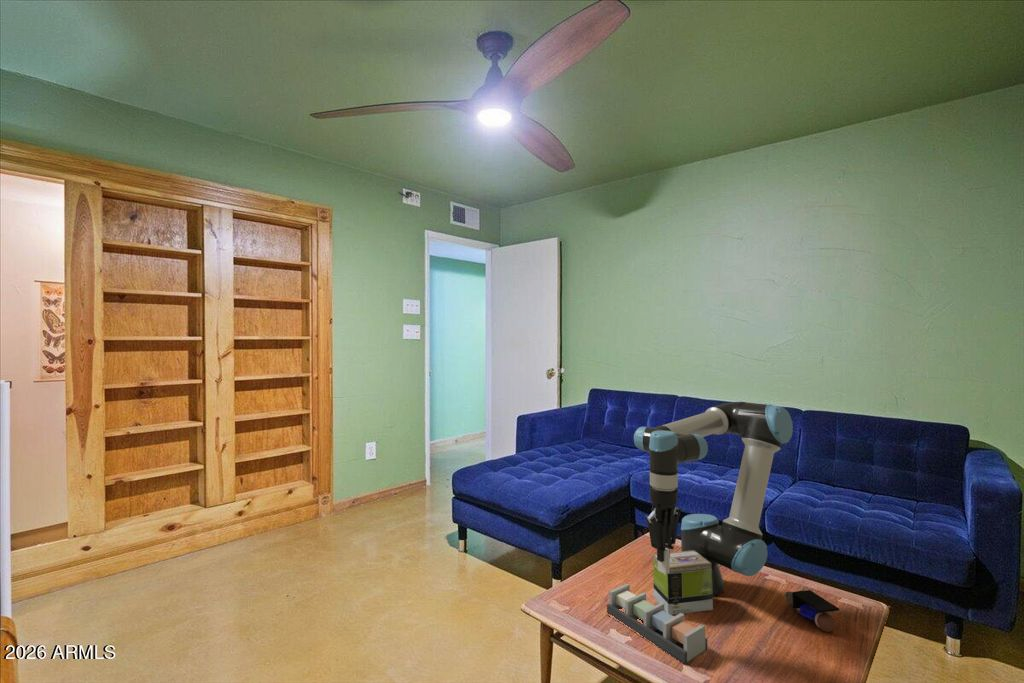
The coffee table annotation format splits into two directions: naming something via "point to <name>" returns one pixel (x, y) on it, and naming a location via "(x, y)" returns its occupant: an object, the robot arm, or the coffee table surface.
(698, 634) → the keypad base
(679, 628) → the terracotta key
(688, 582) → the tea box
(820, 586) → the coffee table surface
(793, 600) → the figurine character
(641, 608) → the sage key
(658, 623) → the slate key
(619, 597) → the ivory key
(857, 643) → the coffee table surface
